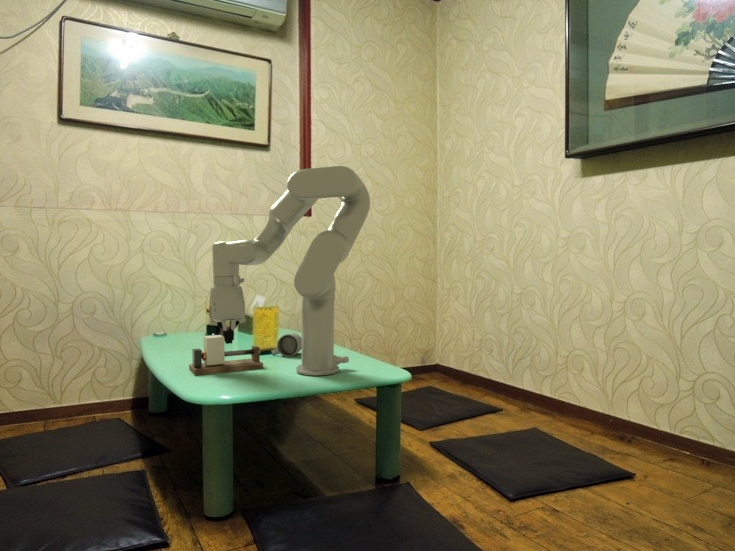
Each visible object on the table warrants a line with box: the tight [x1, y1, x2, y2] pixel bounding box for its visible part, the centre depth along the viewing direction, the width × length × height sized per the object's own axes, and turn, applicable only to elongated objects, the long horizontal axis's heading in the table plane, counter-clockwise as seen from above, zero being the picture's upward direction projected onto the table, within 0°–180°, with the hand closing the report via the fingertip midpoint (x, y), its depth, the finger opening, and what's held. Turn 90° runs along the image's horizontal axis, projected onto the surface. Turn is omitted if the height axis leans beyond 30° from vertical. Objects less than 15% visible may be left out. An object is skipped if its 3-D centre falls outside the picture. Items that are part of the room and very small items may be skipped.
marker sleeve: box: [203, 334, 226, 365], centre depth 151 cm, size 5×5×8 cm
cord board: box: [188, 345, 264, 376], centre depth 153 cm, size 20×9×6 cm, turn 119°
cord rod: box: [191, 348, 254, 368], centre depth 152 cm, size 18×3×5 cm, turn 119°
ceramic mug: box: [270, 332, 302, 358], centre depth 176 cm, size 11×8×8 cm
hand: (228, 343), depth 153 cm, fingers closed
